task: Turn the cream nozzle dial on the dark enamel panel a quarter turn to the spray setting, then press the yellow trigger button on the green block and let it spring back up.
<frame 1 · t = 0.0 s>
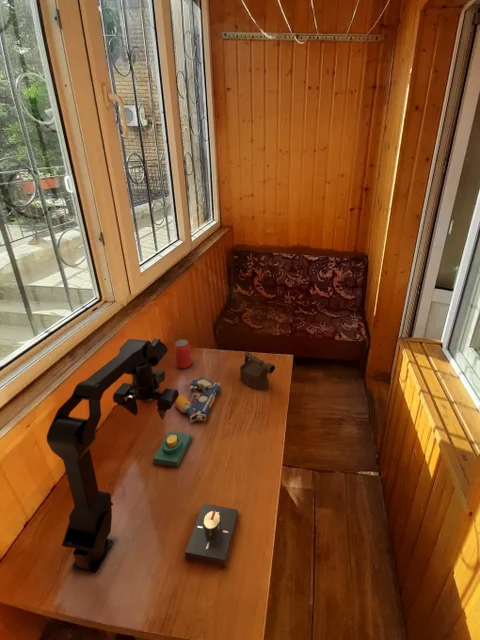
hand: (149, 416, 98), 15 cm above the table, tool pointing down, fingers open, 9 cm apart
toy gun: (196, 402, 123), on the table
nozzle panel: (213, 537, 81), on the table
trigger: (172, 440, 102), point 4 cm above the table, slide at 0.1 cm
nozzle dial: (212, 524, 79), point 5 cm above the table, hinge at 0.0°
cork: (150, 395, 126), on the table
green block: (173, 450, 103), on the table
beer can: (184, 364, 144), on the table
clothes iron: (256, 383, 133), on the table
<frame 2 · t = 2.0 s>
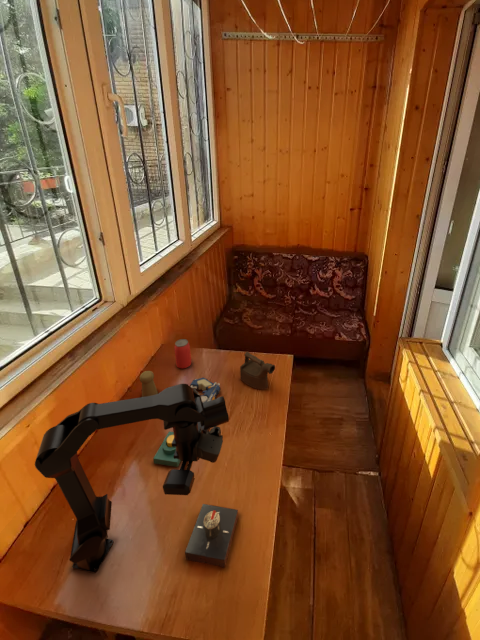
hand: (192, 476, 82), 14 cm above the table, tool pointing down, fingers open, 9 cm apart
nothing on the table moved.
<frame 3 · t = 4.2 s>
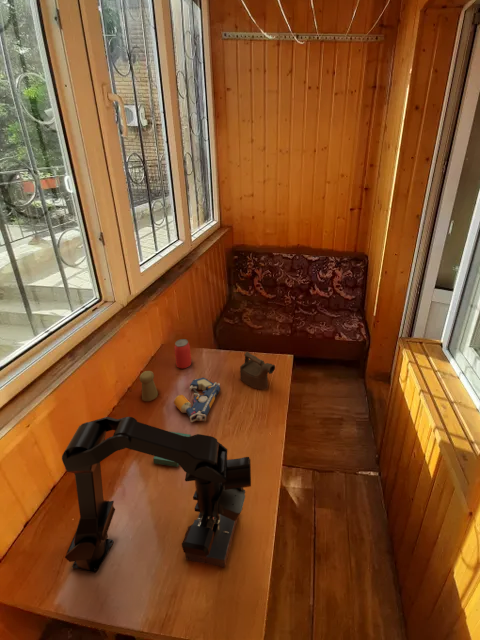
hand: (212, 527, 79), 4 cm above the table, tool pointing down, fingers closed on nozzle dial, 4 cm apart
nozzle dial: (212, 524, 79), point 5 cm above the table, hinge at 0.0°, touching gripper
everything else where it was.
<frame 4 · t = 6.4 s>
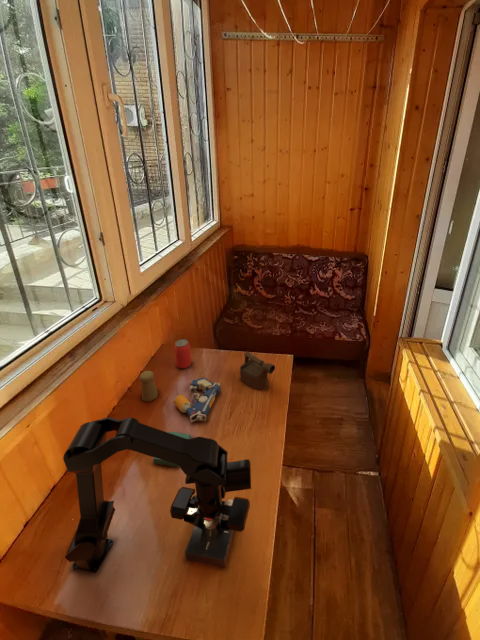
hand: (212, 529, 80), 3 cm above the table, tool pointing down, fingers open, 5 cm apart
nozzle dial: (212, 524, 79), point 5 cm above the table, hinge at 90.4°
everything else where it was.
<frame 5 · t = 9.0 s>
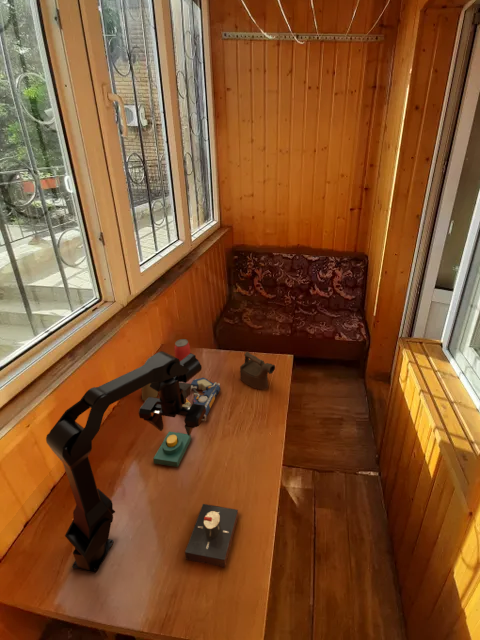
hand: (175, 432, 95), 13 cm above the table, tool pointing down, fingers open, 9 cm apart
nothing on the table moved.
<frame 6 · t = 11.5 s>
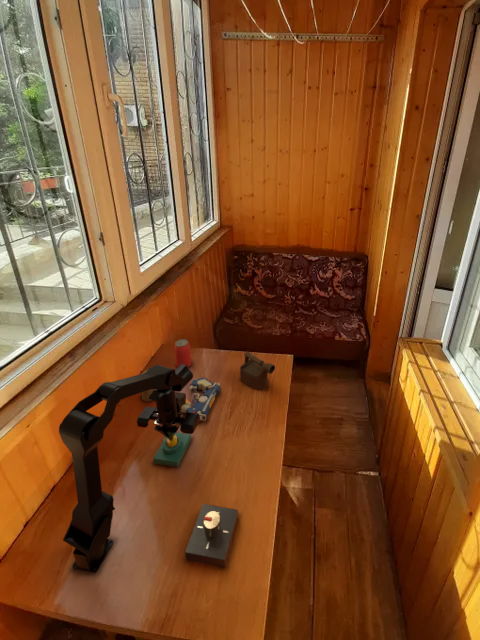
hand: (171, 439, 101), 5 cm above the table, tool pointing down, fingers closed, pressing on trigger
trigger: (172, 440, 102), point 4 cm above the table, slide at 0.1 cm, touching gripper
everything else where it was.
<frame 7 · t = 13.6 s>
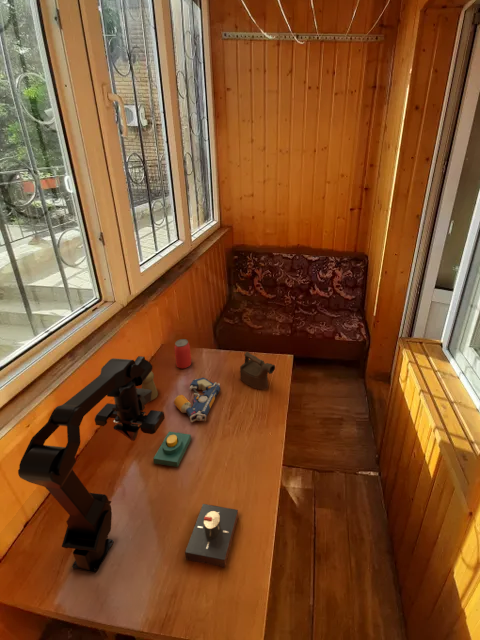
hand: (134, 439, 93), 13 cm above the table, tool pointing down, fingers closed
trigger: (172, 440, 102), point 4 cm above the table, slide at 0.1 cm
everything else where it was.
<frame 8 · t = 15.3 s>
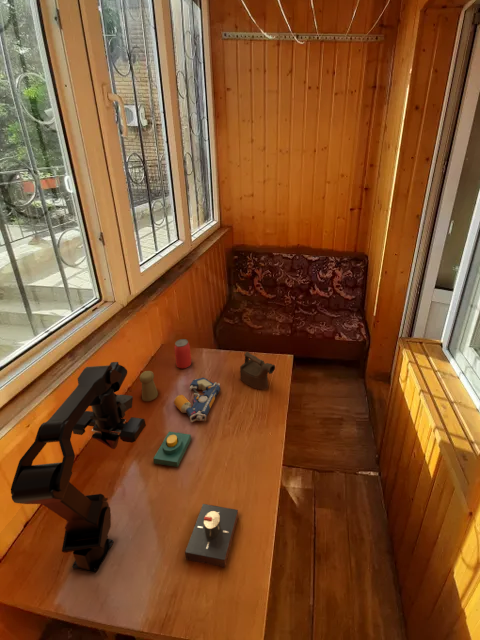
hand: (114, 447, 90), 13 cm above the table, tool pointing down, fingers closed
nothing on the table moved.
at the end: nozzle dial at +90° (first picture: +0°); trigger pushed in 1.1 cm at the most during the clip, back to where it started at the end; trigger slide at 0.1 cm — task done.
